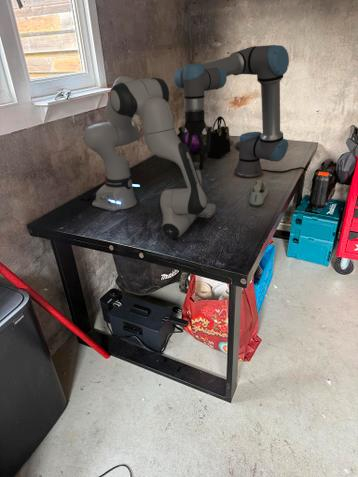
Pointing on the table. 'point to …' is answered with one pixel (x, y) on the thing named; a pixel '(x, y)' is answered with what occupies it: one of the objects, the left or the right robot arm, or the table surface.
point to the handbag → (219, 140)
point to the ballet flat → (258, 193)
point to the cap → (197, 165)
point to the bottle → (199, 176)
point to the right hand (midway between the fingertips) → (196, 168)
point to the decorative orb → (193, 142)
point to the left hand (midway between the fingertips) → (197, 200)
